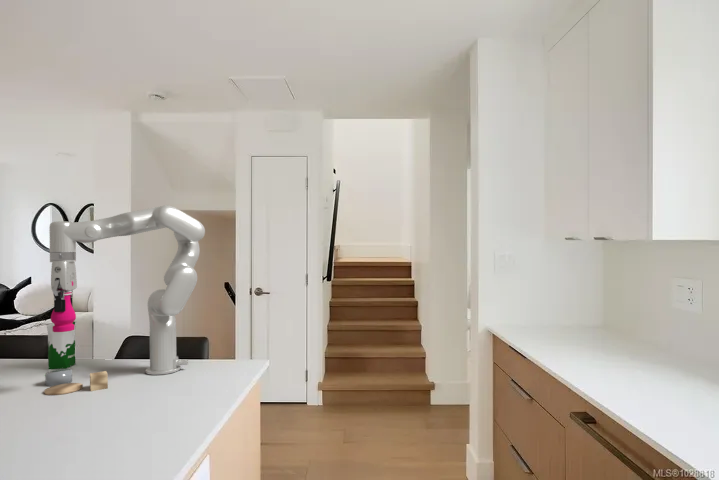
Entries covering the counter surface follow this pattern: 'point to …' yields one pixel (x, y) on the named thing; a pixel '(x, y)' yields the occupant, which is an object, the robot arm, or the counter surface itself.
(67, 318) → the pepper mill
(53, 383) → the grey rounded dome
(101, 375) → the oak block
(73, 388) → the cork trivet
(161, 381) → the counter surface
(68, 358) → the milk carton
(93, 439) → the counter surface
